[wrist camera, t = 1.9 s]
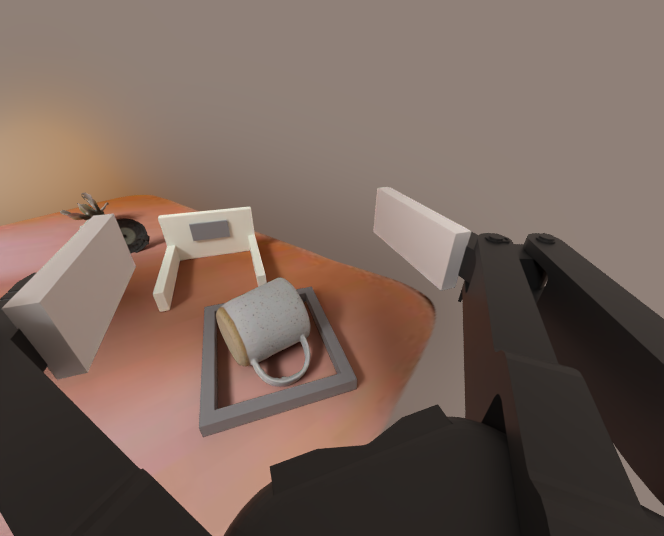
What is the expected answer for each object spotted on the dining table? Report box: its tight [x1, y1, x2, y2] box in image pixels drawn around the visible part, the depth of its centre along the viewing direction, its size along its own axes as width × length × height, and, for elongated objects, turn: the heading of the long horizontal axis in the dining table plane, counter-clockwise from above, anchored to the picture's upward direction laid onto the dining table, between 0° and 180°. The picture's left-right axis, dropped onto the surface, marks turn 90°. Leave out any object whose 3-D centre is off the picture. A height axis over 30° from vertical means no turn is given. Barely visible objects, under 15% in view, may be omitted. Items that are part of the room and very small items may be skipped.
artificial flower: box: [60, 193, 150, 253], centre depth 55 cm, size 9×22×10 cm, turn 47°
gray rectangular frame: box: [199, 287, 357, 437], centre depth 32 cm, size 14×16×2 cm
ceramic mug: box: [216, 277, 310, 387], centre depth 30 cm, size 11×8×8 cm
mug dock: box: [153, 207, 267, 312], centre depth 44 cm, size 14×15×8 cm
